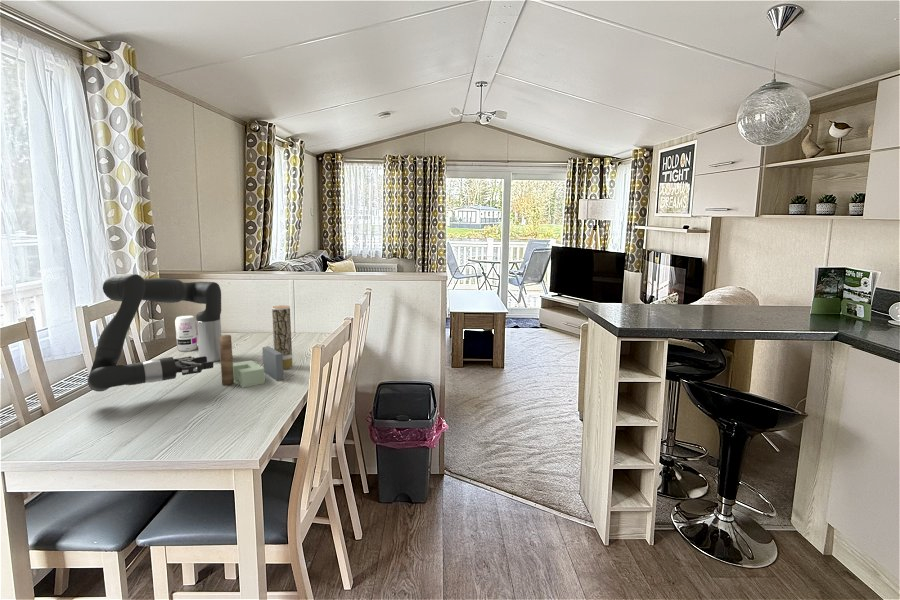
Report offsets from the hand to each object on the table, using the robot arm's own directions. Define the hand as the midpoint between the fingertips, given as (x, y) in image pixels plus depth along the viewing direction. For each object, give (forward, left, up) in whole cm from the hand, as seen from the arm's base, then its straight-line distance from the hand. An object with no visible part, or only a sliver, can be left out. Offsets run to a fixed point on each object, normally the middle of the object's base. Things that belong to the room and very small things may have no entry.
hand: (209, 361), depth 189 cm
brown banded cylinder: (0, +6, -9) cm, 11 cm away
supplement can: (-62, +6, -10) cm, 63 cm away
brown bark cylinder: (-8, +30, -10) cm, 32 cm away
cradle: (0, +13, -9) cm, 16 cm away
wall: (0, +23, -9) cm, 24 cm away
